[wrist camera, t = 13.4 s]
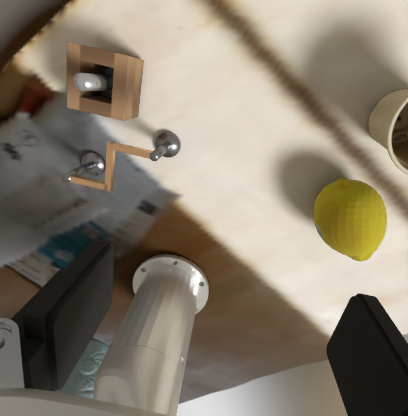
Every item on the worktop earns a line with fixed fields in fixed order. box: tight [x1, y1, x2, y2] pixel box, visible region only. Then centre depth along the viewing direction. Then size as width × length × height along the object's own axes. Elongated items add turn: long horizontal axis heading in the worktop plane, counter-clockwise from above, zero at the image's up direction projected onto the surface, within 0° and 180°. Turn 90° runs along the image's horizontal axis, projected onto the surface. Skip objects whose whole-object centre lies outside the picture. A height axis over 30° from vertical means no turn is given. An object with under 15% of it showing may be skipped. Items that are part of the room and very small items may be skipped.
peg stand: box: [73, 65, 114, 98], centre depth 30 cm, size 4×4×9 cm
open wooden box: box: [67, 42, 144, 121], centre depth 31 cm, size 6×6×5 cm
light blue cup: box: [55, 340, 109, 399], centre depth 50 cm, size 10×10×12 cm
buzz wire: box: [62, 132, 181, 191], centre depth 34 cm, size 5×14×7 cm, turn 114°
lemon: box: [313, 178, 387, 261], centre depth 34 cm, size 11×8×8 cm
